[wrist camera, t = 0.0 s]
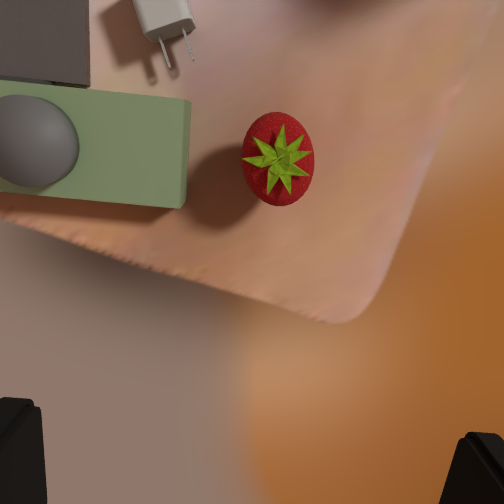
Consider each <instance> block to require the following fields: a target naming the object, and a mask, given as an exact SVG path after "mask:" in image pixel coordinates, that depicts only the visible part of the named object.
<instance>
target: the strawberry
mask: <svg viewBox="0 0 504 504" xmlns="http://www.w3.org/2000/svg"><path fill="white" fill-rule="evenodd" d="M241 159H242V168H243V172H244V176H245V178H246V181H247V183H248V185H249V186H250V188H251V190H252V191H253V192H254V193H255V195H256V196H257V197H258V198H260V199H261V200H262V201H264V202H266V203H268V204H270V205H274V206H286V205H289V204H292V203H294V202H295V201H297V200H298V199H299V198H301V197H302V196H303V194H304V193H305V192H306V190H307V189H308V187H309V185H310V183H311V179H312V176H313V171H314V152H313V147H312V144H311V141H310V138H309V136H308V134H307V132H306V130H305V129H304V128H303V126H302V125H301V124H300V123H299V122H298V121H297V120H296V119H295V118H293V117H291V116H290V115H288V114H285V113H281V112H271V113H268V114H264V115H263V116H261V117H260V118H258V119H257V120H256V121H255V122H254V123H253V124H252V125H251V127H250V128H249V130H248V131H247V134H246V136H245V138H244V142H243V147H242V157H241Z"/></svg>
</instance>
